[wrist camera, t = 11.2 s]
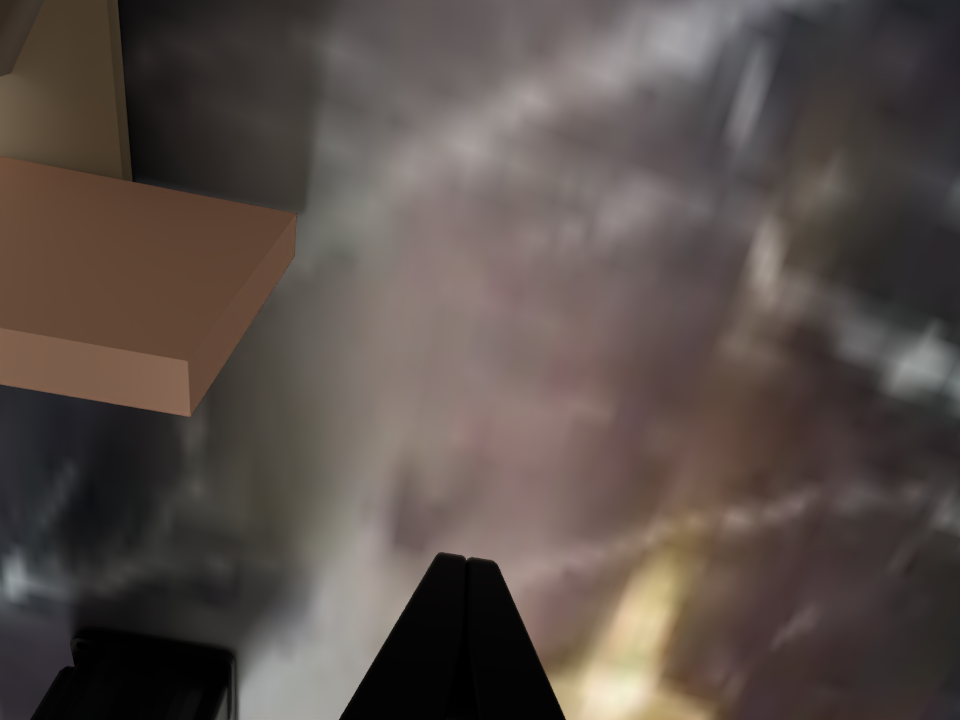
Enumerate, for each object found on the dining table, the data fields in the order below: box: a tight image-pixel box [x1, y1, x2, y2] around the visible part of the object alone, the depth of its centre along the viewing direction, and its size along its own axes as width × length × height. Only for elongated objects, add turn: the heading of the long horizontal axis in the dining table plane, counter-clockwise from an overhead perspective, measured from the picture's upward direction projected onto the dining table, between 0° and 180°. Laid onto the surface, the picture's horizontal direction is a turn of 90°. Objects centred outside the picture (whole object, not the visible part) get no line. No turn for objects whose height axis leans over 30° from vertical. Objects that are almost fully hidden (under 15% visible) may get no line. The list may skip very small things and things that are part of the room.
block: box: [0, 156, 297, 417], centre depth 15 cm, size 8×1×7 cm, turn 79°
